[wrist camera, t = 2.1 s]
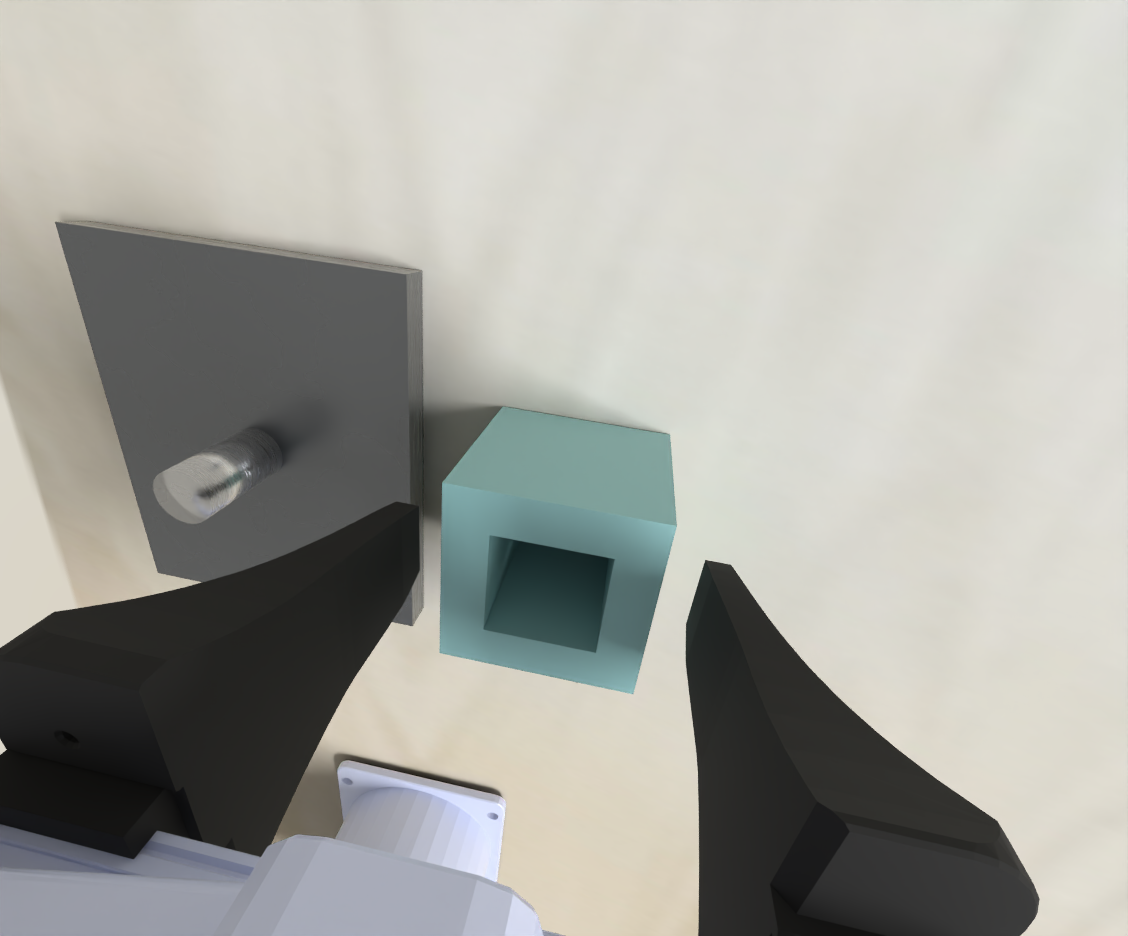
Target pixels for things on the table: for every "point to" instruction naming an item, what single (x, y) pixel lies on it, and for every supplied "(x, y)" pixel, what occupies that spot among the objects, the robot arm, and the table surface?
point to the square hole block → (556, 547)
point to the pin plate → (253, 391)
